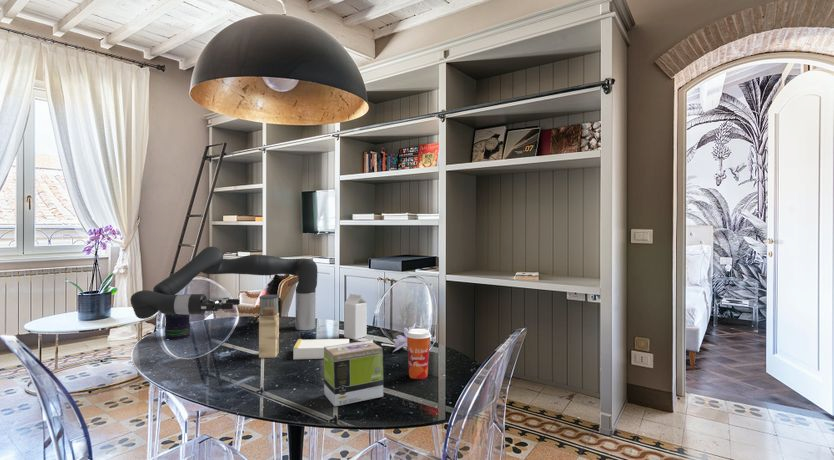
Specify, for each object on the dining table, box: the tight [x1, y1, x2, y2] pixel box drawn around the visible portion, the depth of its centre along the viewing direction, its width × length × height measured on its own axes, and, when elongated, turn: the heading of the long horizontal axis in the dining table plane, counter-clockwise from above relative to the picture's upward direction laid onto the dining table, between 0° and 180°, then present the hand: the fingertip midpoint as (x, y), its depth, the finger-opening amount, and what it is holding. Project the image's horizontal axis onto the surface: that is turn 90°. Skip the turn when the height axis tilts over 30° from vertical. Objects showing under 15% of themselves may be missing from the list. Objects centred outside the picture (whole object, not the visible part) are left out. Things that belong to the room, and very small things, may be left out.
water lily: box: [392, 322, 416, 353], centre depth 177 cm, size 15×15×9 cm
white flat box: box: [292, 338, 350, 360], centre depth 170 cm, size 12×20×4 cm, turn 97°
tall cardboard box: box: [258, 313, 280, 359], centre depth 168 cm, size 6×6×16 cm
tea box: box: [323, 340, 384, 407], centre depth 129 cm, size 15×10×15 cm
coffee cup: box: [406, 328, 432, 380], centre depth 146 cm, size 8×8×15 cm
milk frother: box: [248, 294, 283, 325], centre depth 216 cm, size 14×16×15 cm
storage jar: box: [164, 314, 191, 341], centre depth 192 cm, size 10×10×15 cm
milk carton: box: [343, 293, 368, 340], centre depth 195 cm, size 7×7×19 cm
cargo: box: [262, 307, 276, 316], centre depth 168 cm, size 4×4×4 cm
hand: (236, 304), depth 166 cm, fingers open, 8 cm apart
